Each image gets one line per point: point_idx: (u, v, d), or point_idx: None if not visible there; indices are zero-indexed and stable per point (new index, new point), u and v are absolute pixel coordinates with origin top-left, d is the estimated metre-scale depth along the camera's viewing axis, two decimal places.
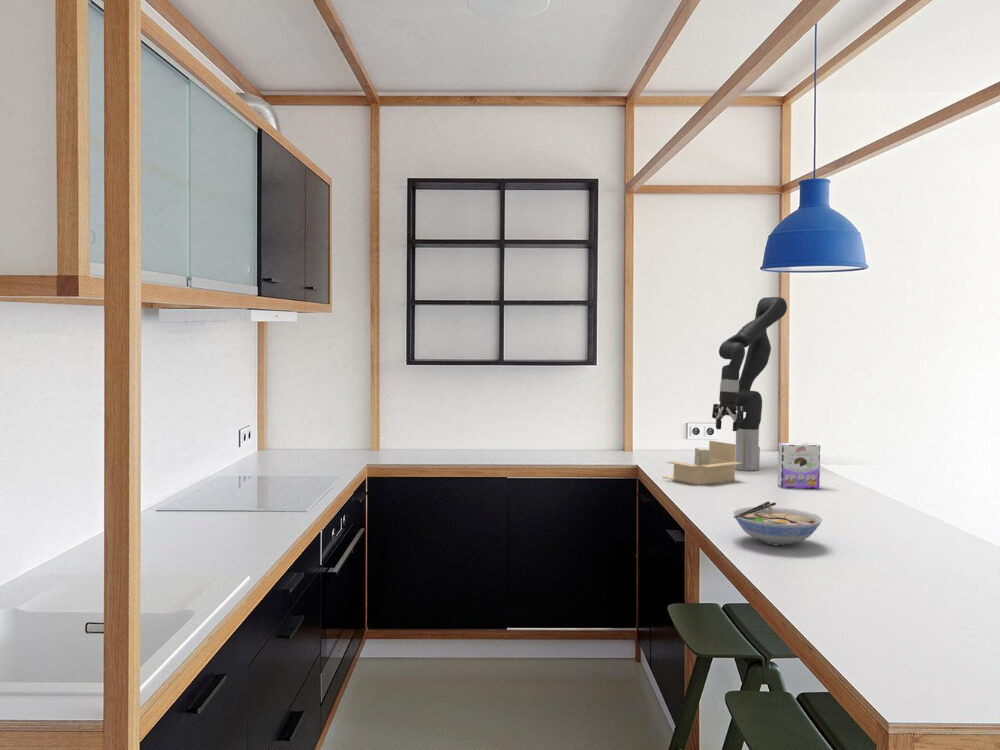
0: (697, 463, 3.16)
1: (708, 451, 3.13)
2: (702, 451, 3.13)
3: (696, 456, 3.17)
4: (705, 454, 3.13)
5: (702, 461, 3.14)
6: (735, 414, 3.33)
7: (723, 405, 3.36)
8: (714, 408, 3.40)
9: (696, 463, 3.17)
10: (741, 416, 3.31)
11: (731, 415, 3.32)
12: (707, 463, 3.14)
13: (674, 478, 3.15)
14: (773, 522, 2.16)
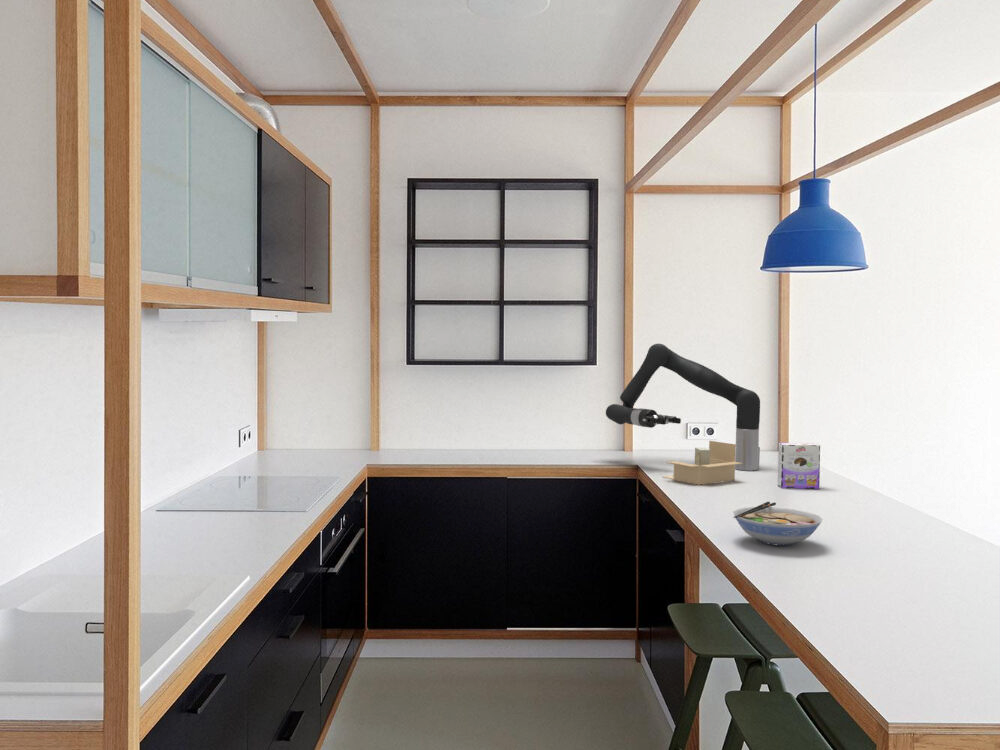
0: (697, 463, 3.16)
1: (708, 451, 3.13)
2: (702, 451, 3.13)
3: (696, 456, 3.17)
4: (705, 454, 3.13)
5: (702, 461, 3.13)
6: (654, 419, 3.32)
7: None
8: None
9: (696, 463, 3.17)
10: (650, 418, 3.30)
11: (655, 424, 3.32)
12: (707, 463, 3.14)
13: (674, 478, 3.15)
14: (773, 522, 2.16)
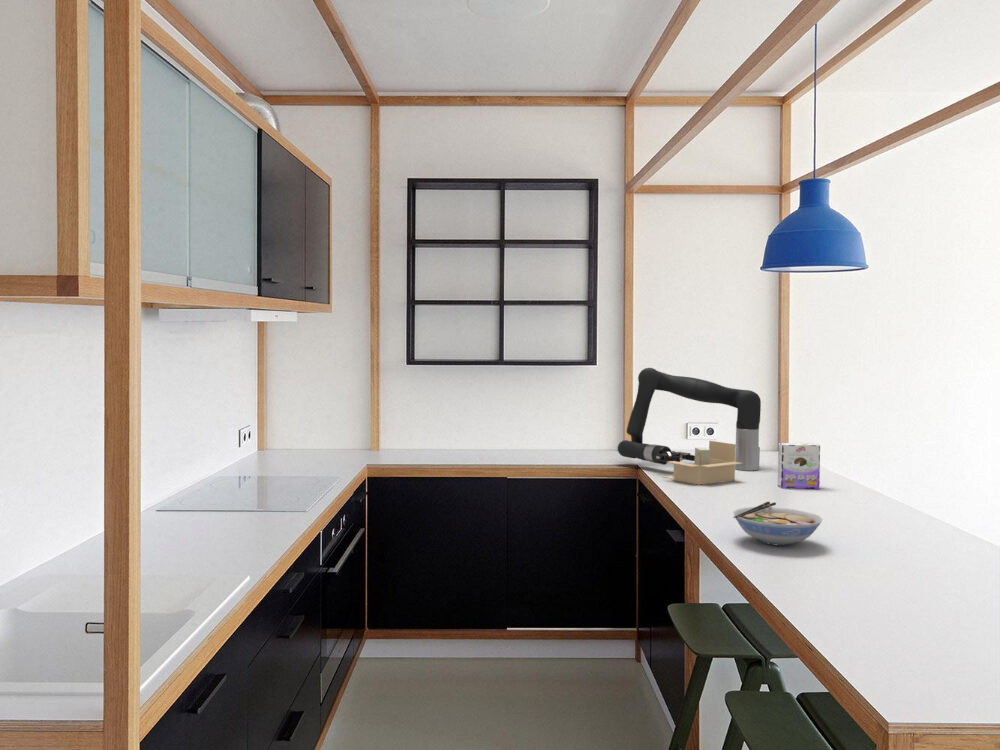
0: (697, 463, 3.16)
1: (708, 451, 3.13)
2: (702, 451, 3.13)
3: (696, 456, 3.17)
4: (705, 454, 3.13)
5: (702, 461, 3.14)
6: (667, 456, 3.27)
7: None
8: None
9: (696, 463, 3.17)
10: None
11: (669, 461, 3.26)
12: (707, 463, 3.14)
13: (674, 478, 3.15)
14: (773, 522, 2.16)
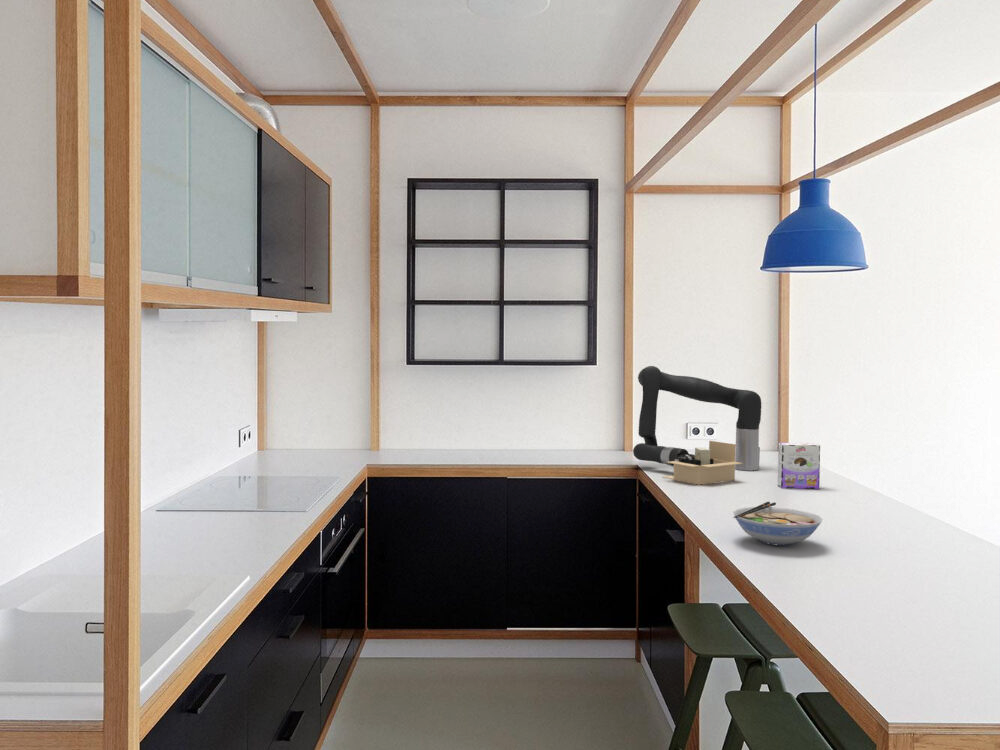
0: None
1: (708, 451, 3.13)
2: (702, 451, 3.13)
3: (696, 456, 3.17)
4: (705, 454, 3.13)
5: (702, 461, 3.13)
6: None
7: None
8: None
9: None
10: (684, 459, 3.16)
11: None
12: (707, 463, 3.14)
13: (674, 478, 3.15)
14: (773, 522, 2.16)
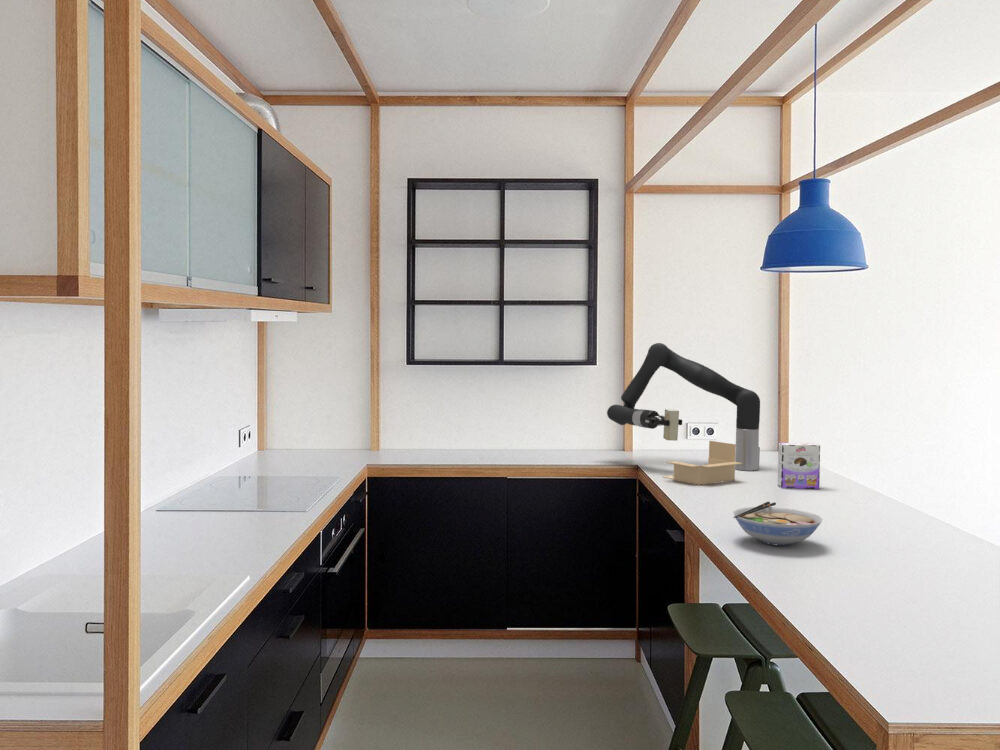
0: None
1: (677, 412, 3.26)
2: (671, 412, 3.26)
3: (665, 417, 3.30)
4: (674, 415, 3.26)
5: (671, 421, 3.26)
6: None
7: None
8: None
9: None
10: (653, 420, 3.29)
11: (658, 425, 3.31)
12: (676, 423, 3.27)
13: (674, 478, 3.15)
14: (773, 522, 2.16)
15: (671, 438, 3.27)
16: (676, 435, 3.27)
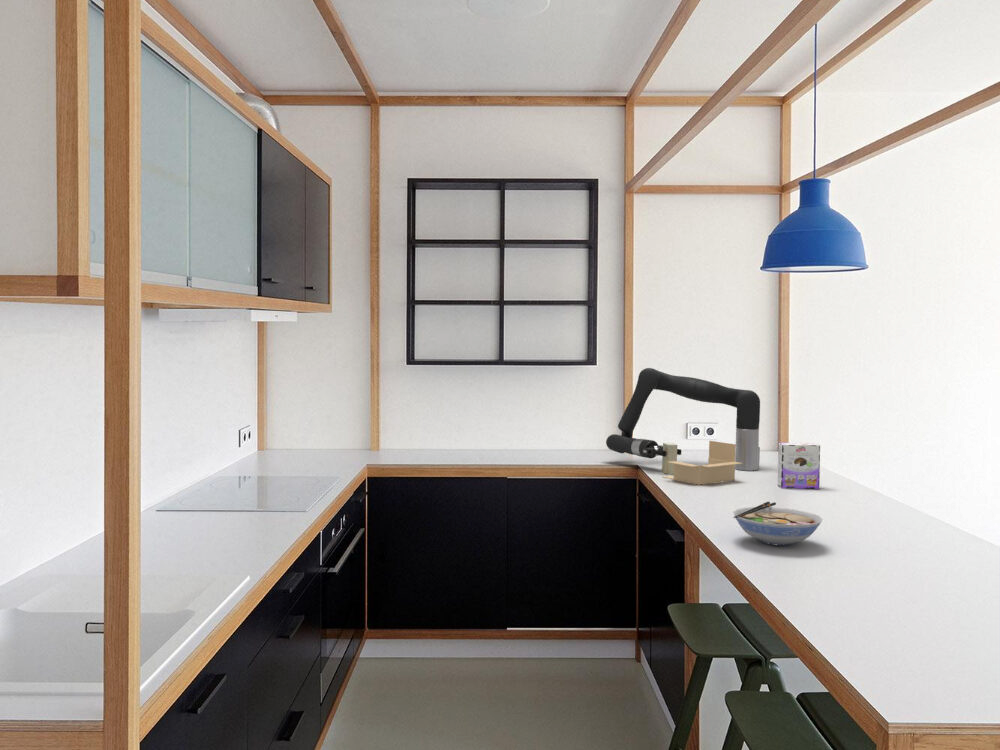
0: (665, 457, 3.30)
1: (675, 446, 3.28)
2: (669, 446, 3.27)
3: (664, 450, 3.31)
4: (672, 449, 3.28)
5: (670, 455, 3.28)
6: (654, 450, 3.32)
7: None
8: None
9: (664, 458, 3.31)
10: None
11: (656, 455, 3.32)
12: (674, 457, 3.28)
13: (674, 478, 3.15)
14: (773, 522, 2.16)
15: (670, 472, 3.28)
16: None
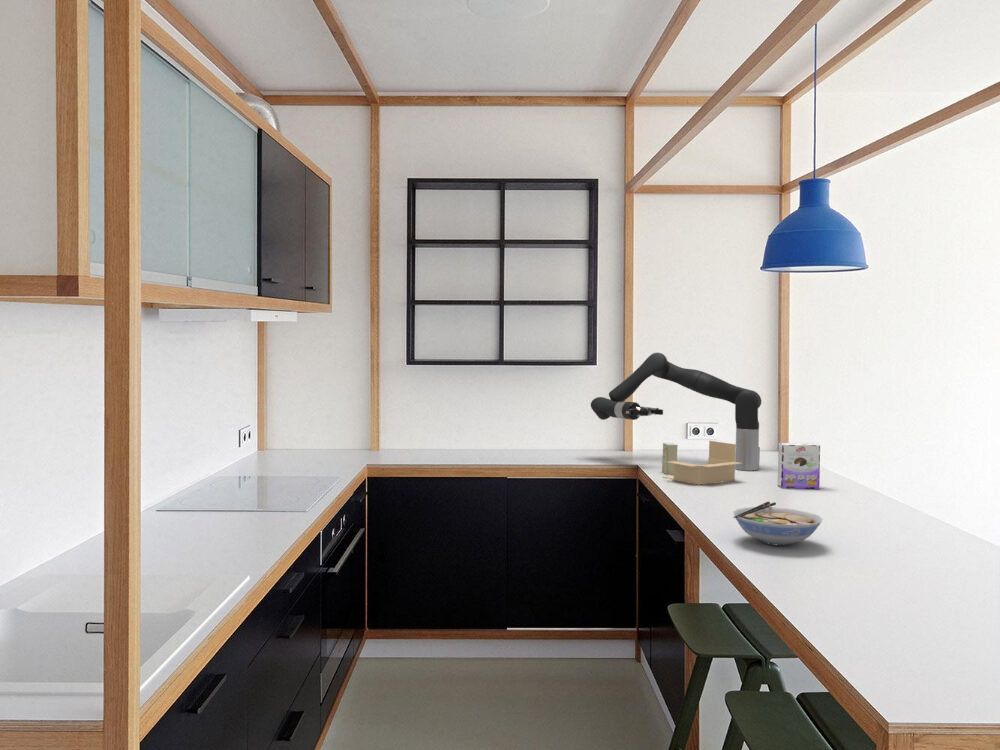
0: (665, 457, 3.30)
1: (675, 446, 3.28)
2: (669, 446, 3.27)
3: (664, 450, 3.31)
4: (672, 449, 3.28)
5: (670, 455, 3.28)
6: (637, 411, 3.40)
7: None
8: None
9: (664, 458, 3.31)
10: (633, 410, 3.38)
11: (638, 416, 3.40)
12: (674, 457, 3.28)
13: (674, 478, 3.15)
14: (773, 522, 2.16)
15: (670, 472, 3.28)
16: None
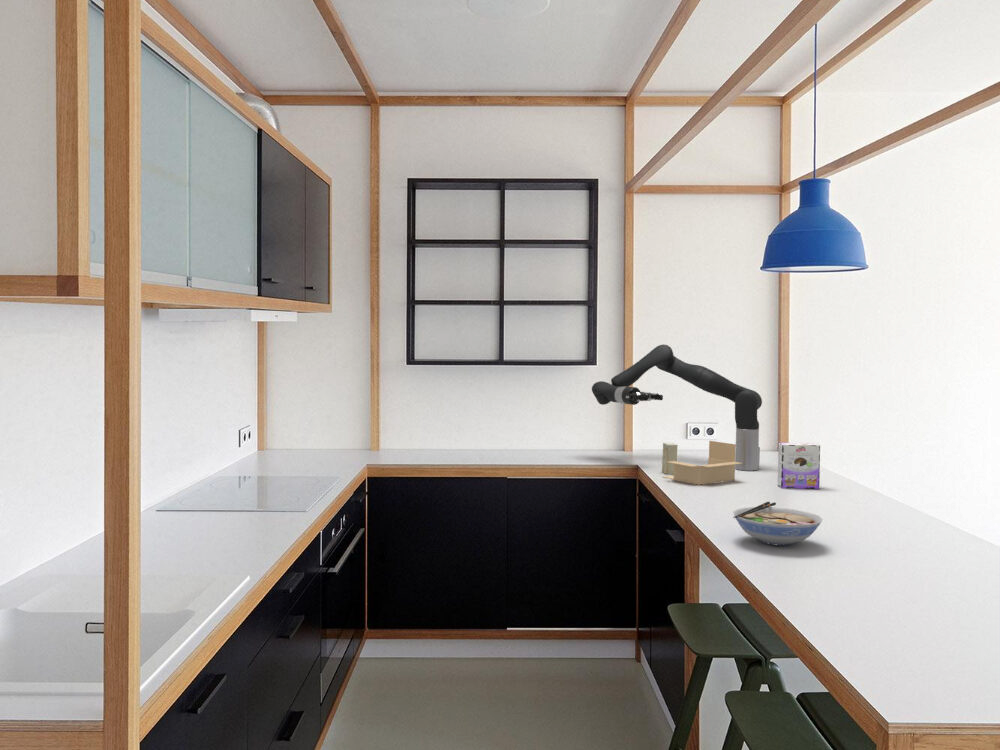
0: (665, 457, 3.30)
1: (675, 446, 3.28)
2: (669, 446, 3.27)
3: (664, 450, 3.31)
4: (672, 449, 3.28)
5: (670, 455, 3.28)
6: (636, 396, 3.41)
7: None
8: None
9: (664, 458, 3.31)
10: (632, 395, 3.39)
11: (638, 401, 3.40)
12: (674, 457, 3.28)
13: (674, 478, 3.15)
14: (773, 522, 2.16)
15: (670, 472, 3.28)
16: None
